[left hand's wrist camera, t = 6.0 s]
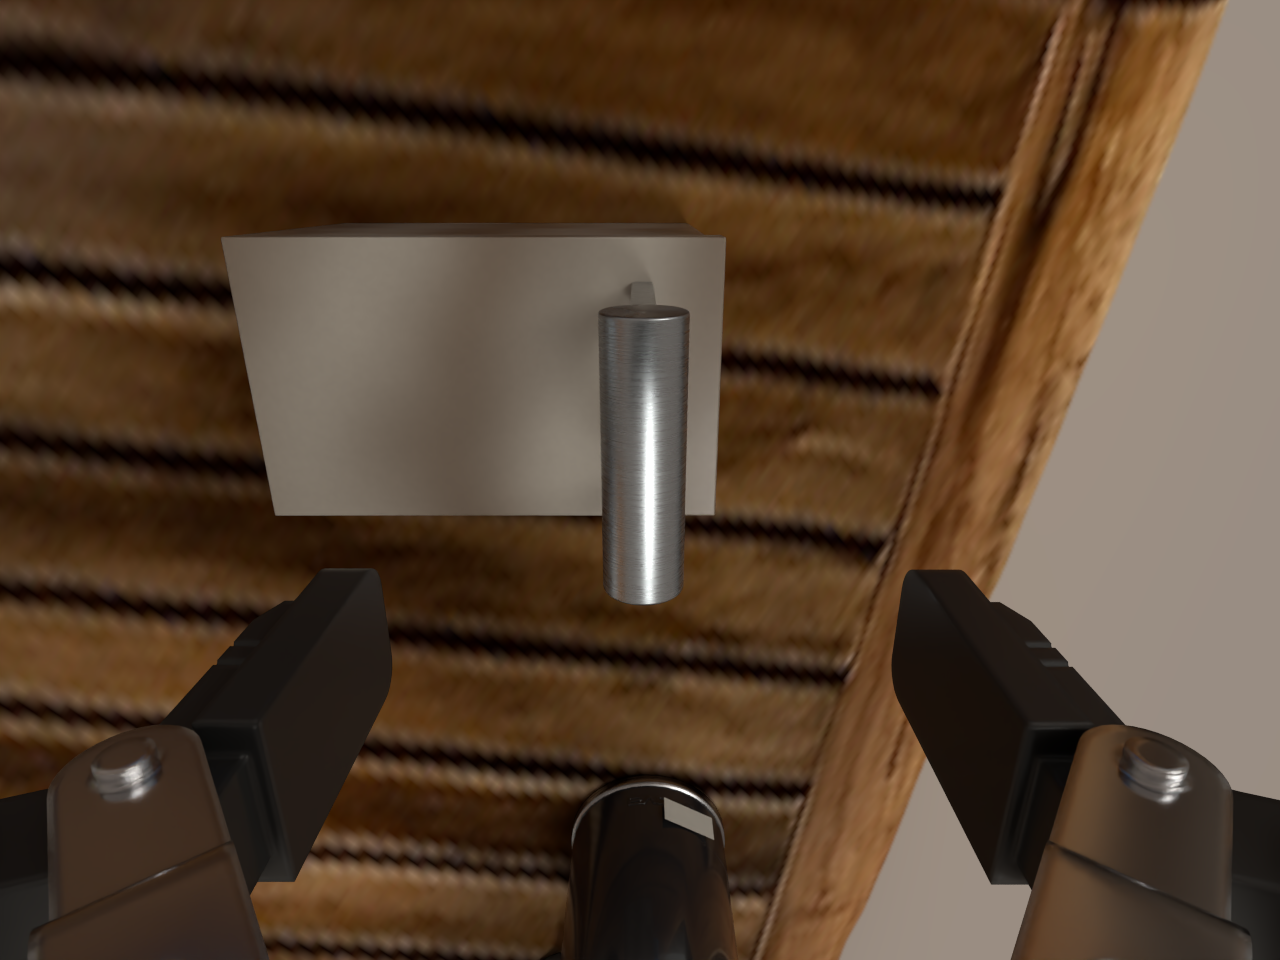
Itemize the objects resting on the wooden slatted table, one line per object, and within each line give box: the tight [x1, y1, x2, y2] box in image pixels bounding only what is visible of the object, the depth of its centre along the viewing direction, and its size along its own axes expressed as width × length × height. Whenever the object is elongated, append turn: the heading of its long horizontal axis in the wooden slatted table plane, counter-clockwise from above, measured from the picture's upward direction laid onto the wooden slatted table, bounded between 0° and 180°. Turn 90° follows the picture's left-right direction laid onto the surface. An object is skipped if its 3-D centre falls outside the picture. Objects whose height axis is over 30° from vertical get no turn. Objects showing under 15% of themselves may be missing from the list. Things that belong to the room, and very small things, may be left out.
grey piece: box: [221, 235, 726, 605], centre depth 22 cm, size 16×10×9 cm, turn 90°
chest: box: [246, 223, 704, 235], centre depth 31 cm, size 15×10×10 cm, turn 90°
